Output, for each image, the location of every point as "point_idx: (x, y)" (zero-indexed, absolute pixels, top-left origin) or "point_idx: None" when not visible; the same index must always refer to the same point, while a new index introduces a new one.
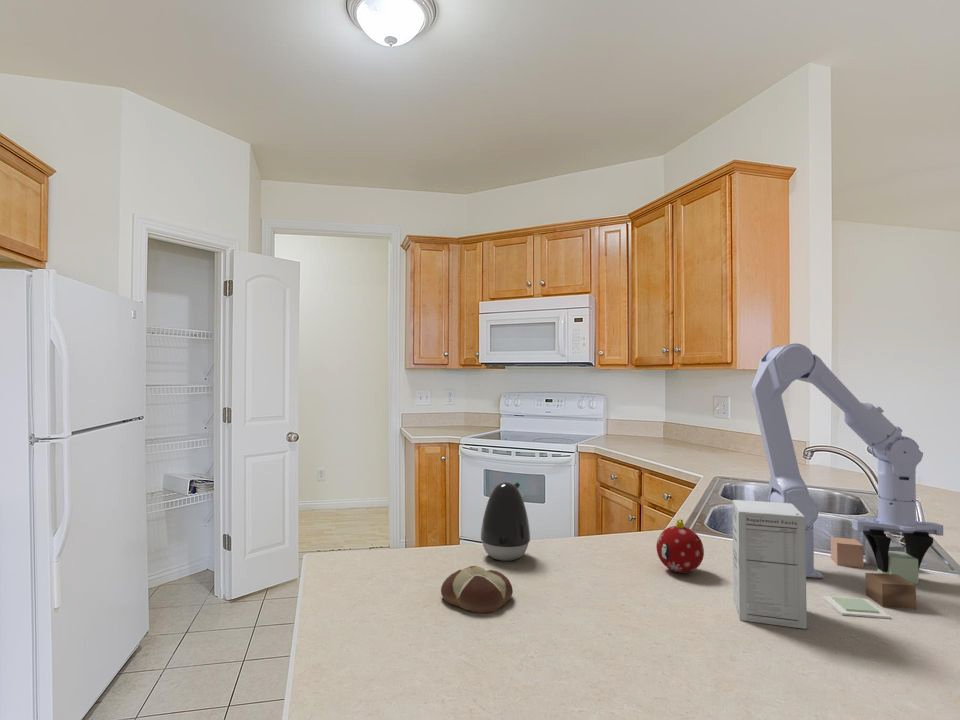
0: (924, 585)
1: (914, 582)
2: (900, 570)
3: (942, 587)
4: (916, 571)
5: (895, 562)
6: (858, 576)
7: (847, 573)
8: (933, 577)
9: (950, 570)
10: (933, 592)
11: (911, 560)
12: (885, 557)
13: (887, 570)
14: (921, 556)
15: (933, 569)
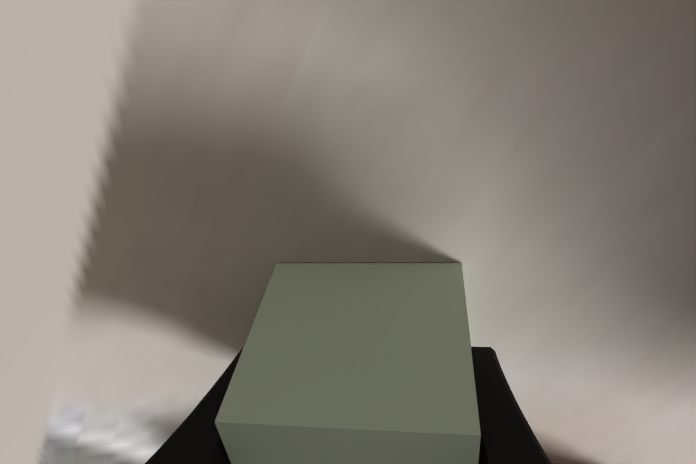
0: (244, 249)
1: (299, 270)
2: (391, 332)
3: (139, 236)
4: (264, 330)
5: (433, 392)
6: (643, 334)
7: (683, 373)
8: (144, 376)
9: (44, 457)
10: (235, 116)
11: (279, 412)
12: (512, 451)
13: None
14: (167, 460)
15: (114, 461)
